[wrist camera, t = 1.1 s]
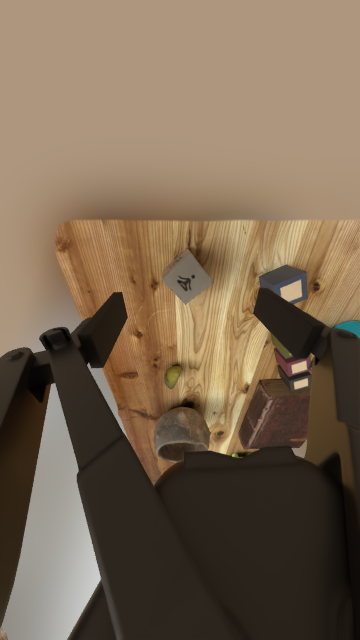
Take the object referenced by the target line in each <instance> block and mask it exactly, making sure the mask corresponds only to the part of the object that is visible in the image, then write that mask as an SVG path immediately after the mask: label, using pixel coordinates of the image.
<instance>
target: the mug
mask: <svg viewBox="0 0 360 640" xmlns="http://www.w3.org/2000/svg"><path fill="white" fill-rule="evenodd" d="M334 328H339V329H344V330H347V331H350V332H352V333H354V334H356V335H357V336H358V337H359V339H360V322H359V321H347V322H344V323H341V324H339V325H337V326H335V327H334Z"/></svg>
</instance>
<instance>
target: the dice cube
mask: <svg viewBox="0 0 360 640" xmlns="http://www.w3.org/2000/svg"><path fill="white" fill-rule="evenodd" d="M162 280H163V281H164V283H165V284H166V285H167V286H168V287H169V288H170V289H171V290H172V291H173V292H174V293H175V294H176V295H177V296H178V297H179V298H180V299H181V301H182V302H183V303H184V304H185V305H186V304H187V303H188V302H190V301H191V300H192V299H193V298H195V297H196V296H197V295H198V294H200V293H201V292H202V291H204V290H205V289H206V288H207V287H209V286H210V285H211V284H212V283H213V281H212V280H211V278H210V277H209V276H208V274H207V273H206V271H205V270H204V269H203V268H202V266H201V265H200V264H199V262H198V261H197V260H196V258H195V257H194V256H193V254H192V253H191V252H190V251H189V249H188V248H187V249H186V250H185V251H184V252H183V253H182V254H181V255H179V256H178V257H177V258H176V259H175V260H174V261H173V262H172V263H171V264H170V265H169V266H168V267H167V268H165V269H164V271H163V275H162Z"/></svg>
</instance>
